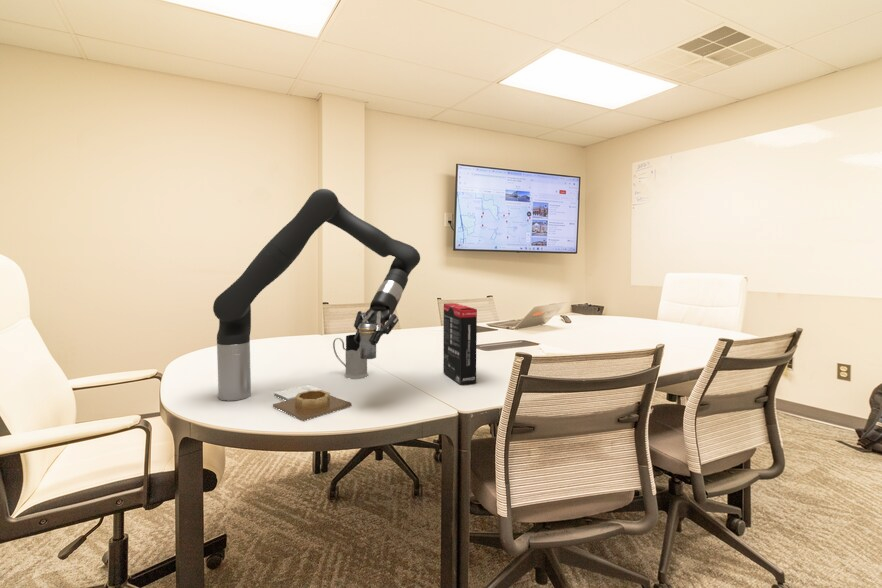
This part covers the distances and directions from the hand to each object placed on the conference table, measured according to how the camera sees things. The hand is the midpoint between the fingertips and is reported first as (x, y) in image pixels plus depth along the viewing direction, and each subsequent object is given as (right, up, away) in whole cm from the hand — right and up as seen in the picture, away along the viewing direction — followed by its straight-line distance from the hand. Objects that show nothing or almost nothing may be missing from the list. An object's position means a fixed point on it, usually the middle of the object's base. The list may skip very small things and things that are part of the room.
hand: (364, 342), depth 124 cm
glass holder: (-12, -17, +38) cm, 43 cm away
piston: (+1, -5, +2) cm, 5 cm away
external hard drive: (-24, -19, +14) cm, 33 cm away
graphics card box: (+29, -17, +34) cm, 48 cm away
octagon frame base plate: (-16, -19, +3) cm, 25 cm away
